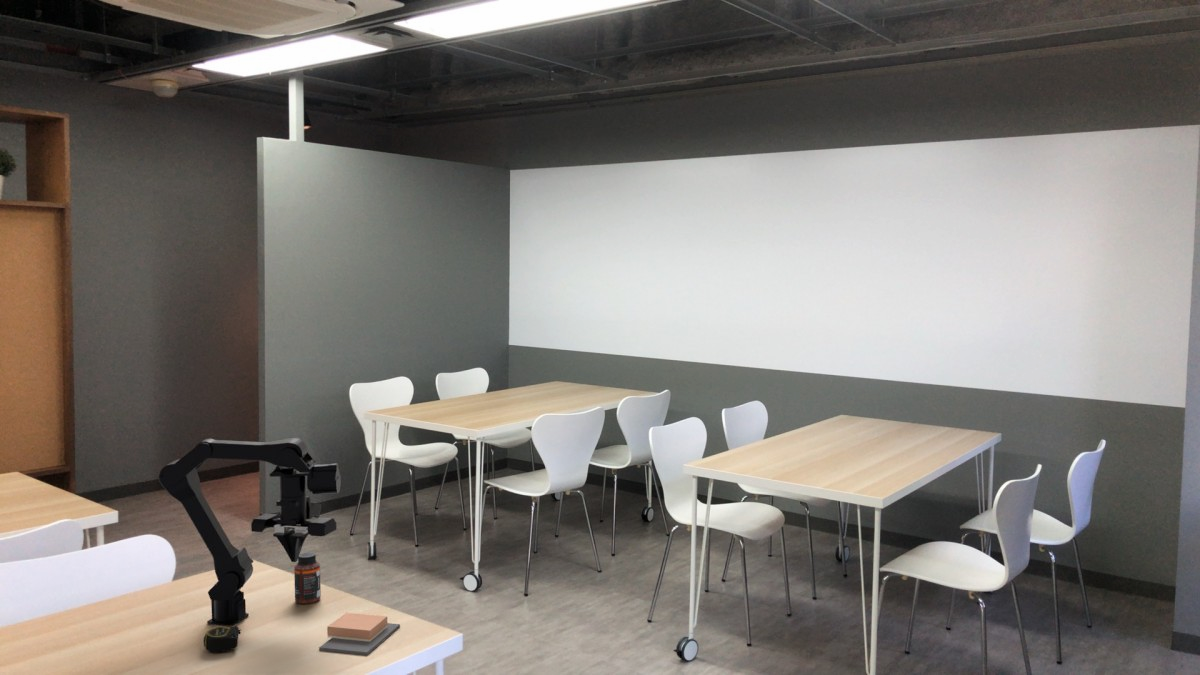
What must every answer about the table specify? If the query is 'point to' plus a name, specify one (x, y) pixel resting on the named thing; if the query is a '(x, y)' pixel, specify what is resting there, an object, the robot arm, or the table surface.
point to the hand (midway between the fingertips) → (294, 561)
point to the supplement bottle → (307, 579)
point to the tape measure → (221, 639)
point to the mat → (358, 643)
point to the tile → (357, 627)
